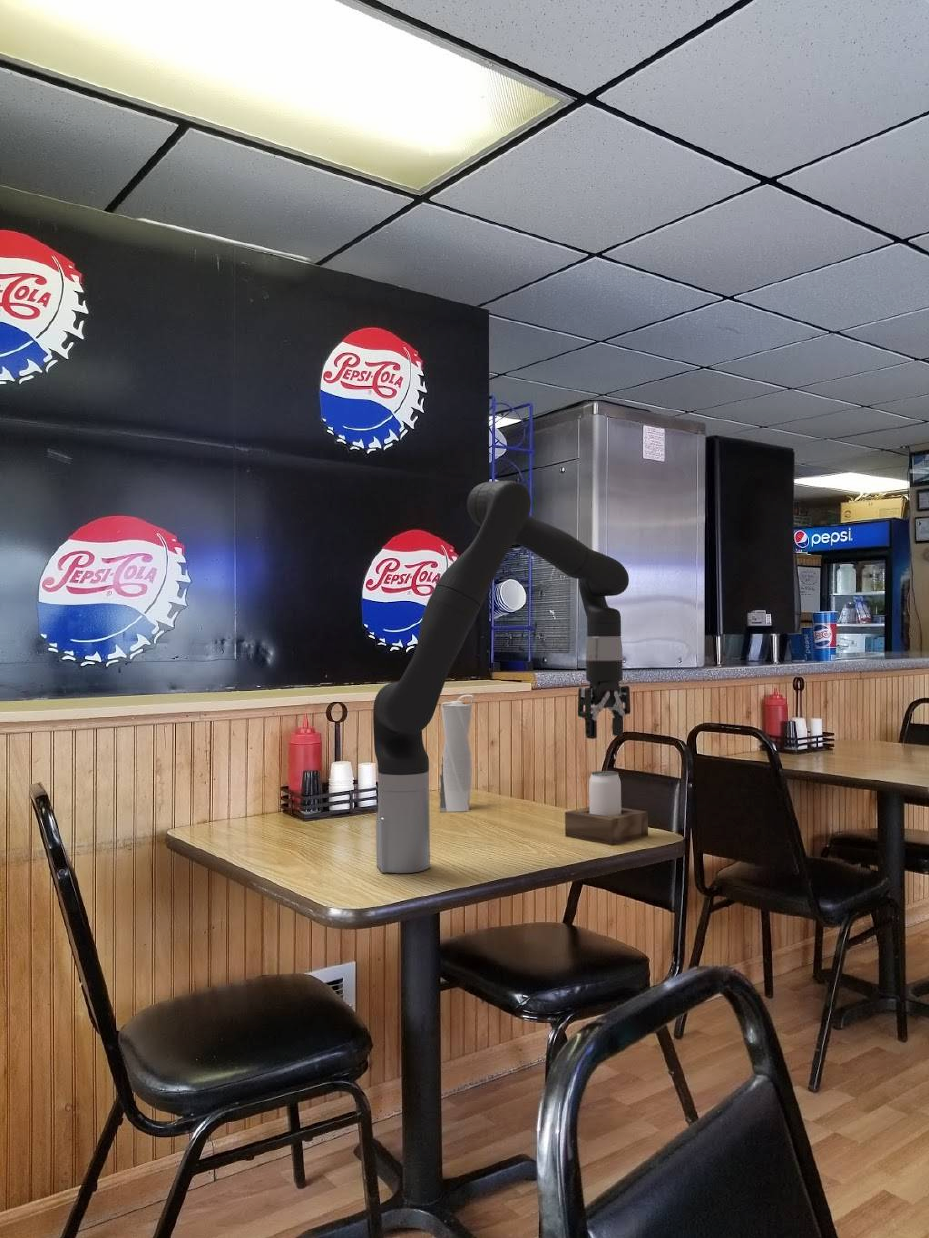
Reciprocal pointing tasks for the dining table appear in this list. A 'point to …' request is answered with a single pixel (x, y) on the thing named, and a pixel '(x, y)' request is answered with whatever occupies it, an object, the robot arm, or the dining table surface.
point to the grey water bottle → (456, 757)
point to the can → (605, 793)
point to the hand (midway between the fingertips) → (604, 737)
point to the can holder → (606, 826)
